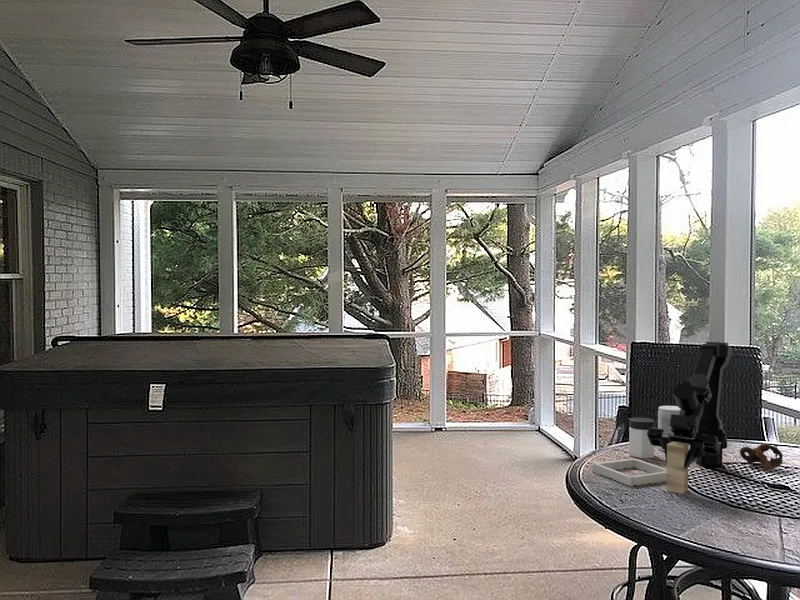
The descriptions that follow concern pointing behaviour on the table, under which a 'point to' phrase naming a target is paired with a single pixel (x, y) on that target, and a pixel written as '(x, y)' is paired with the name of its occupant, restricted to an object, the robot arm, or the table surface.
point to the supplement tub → (666, 418)
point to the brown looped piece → (762, 456)
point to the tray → (610, 467)
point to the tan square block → (677, 467)
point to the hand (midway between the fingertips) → (676, 466)
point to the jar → (640, 438)
